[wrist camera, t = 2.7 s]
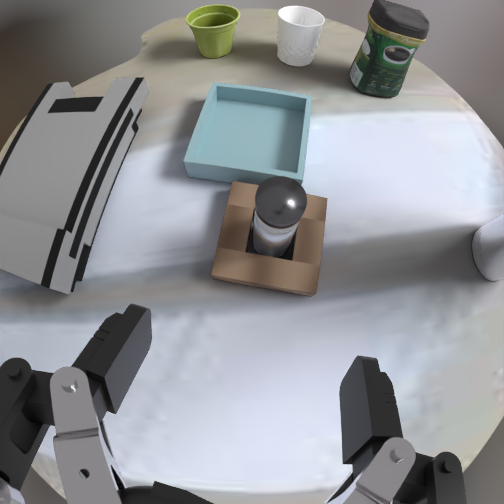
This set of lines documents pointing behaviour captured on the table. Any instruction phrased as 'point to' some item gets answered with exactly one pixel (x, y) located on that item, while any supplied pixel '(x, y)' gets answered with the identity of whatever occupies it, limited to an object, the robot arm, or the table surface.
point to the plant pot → (213, 29)
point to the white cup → (298, 34)
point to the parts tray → (249, 135)
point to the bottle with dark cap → (277, 214)
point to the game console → (63, 179)
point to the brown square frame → (264, 267)
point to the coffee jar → (388, 48)
